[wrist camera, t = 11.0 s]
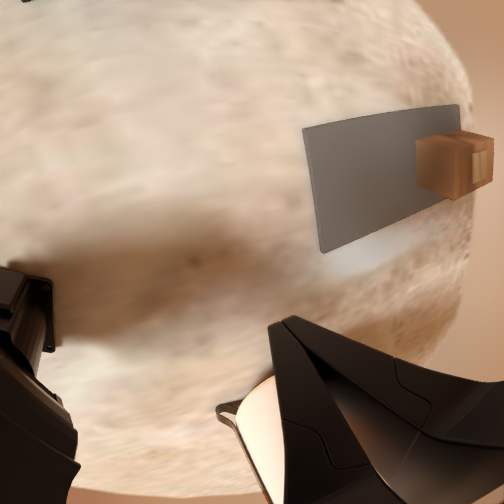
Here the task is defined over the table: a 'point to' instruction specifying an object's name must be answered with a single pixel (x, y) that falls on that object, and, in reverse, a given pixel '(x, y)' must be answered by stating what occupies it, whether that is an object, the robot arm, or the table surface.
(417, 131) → the mat
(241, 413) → the coffee press
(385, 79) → the table surface
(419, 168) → the brown rectangular block
